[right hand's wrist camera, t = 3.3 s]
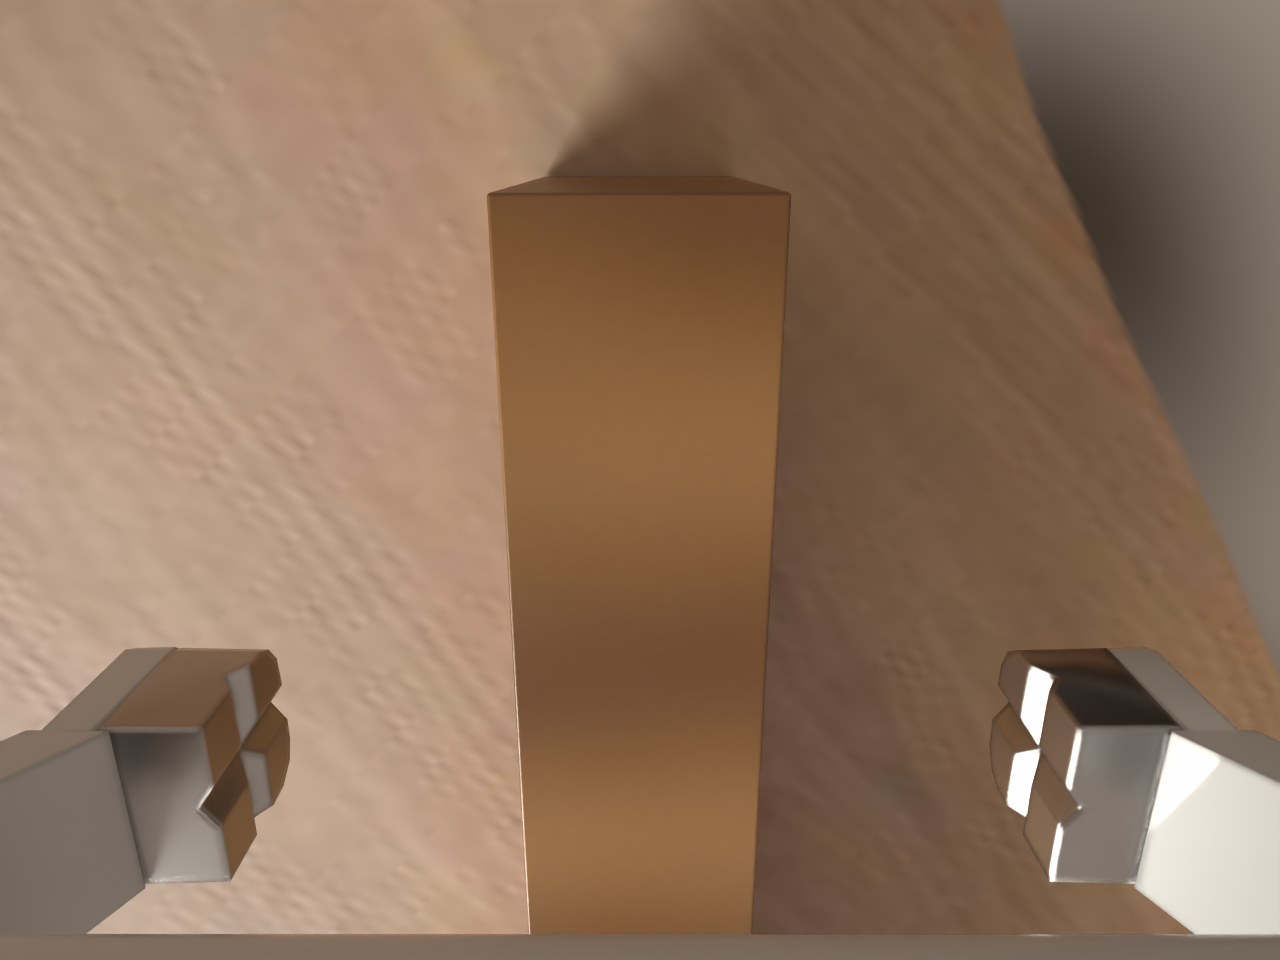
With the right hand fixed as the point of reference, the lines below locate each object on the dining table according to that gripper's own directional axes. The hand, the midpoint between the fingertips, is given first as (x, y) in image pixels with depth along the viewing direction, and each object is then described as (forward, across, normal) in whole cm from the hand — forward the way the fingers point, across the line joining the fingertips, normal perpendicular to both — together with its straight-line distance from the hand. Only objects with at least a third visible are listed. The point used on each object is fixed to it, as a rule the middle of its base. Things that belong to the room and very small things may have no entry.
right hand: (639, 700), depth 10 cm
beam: (+15, 0, -22) cm, 26 cm away
